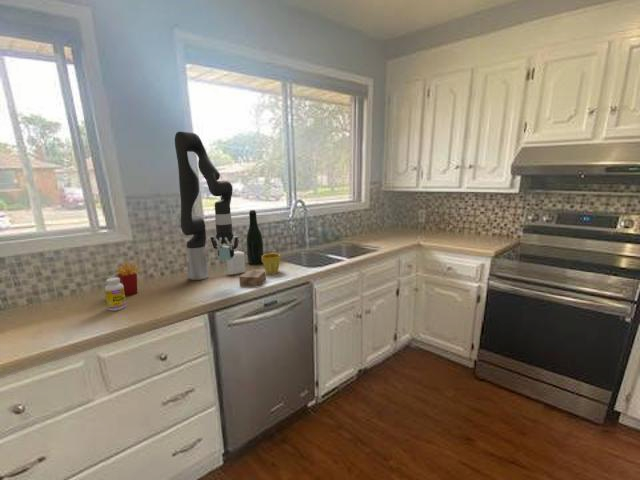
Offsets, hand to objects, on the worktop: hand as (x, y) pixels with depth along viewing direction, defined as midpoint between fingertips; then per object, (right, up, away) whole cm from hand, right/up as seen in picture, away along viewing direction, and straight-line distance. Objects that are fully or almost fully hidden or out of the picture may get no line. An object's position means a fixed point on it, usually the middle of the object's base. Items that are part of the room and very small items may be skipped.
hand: (226, 256), depth 159 cm
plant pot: (+19, -10, +22) cm, 31 cm away
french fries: (-44, -17, -4) cm, 48 cm away
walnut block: (+12, -14, +5) cm, 19 cm away
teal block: (0, -1, 0) cm, 1 cm away
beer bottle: (+6, -6, +44) cm, 44 cm away
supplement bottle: (-40, -21, -22) cm, 50 cm away
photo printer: (-1, -11, +23) cm, 25 cm away
